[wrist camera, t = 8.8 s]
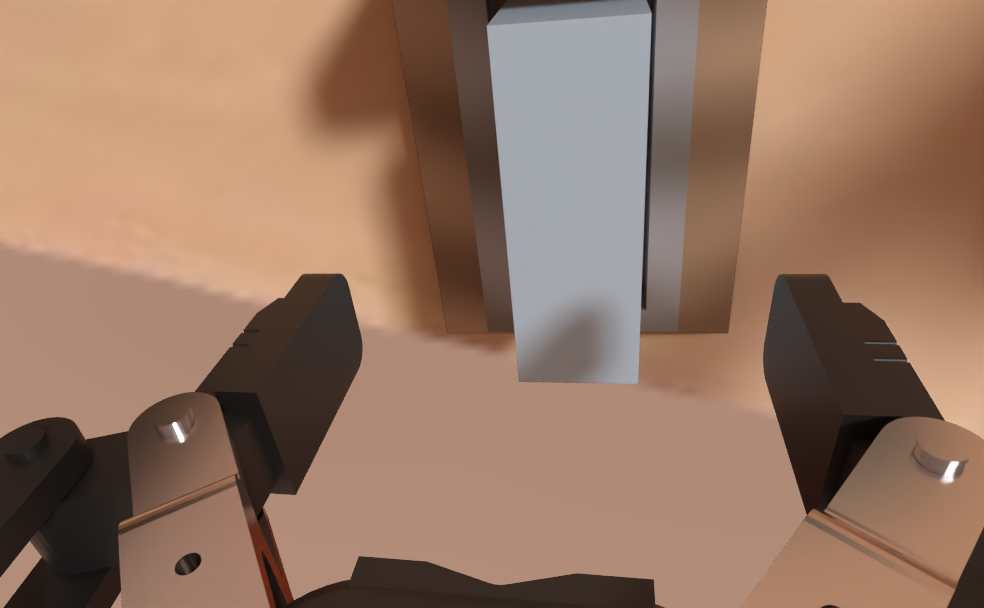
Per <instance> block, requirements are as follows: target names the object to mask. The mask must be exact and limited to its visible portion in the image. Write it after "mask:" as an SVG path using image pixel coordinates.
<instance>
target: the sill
mask: <svg viewBox="0 0 984 608" xmlns="http://www.w3.org/2000/svg"><path fill="white" fill-rule="evenodd" d="M506 1H507V0H392V5H393V11H394V17H395V23H396V29H397V35H398V41H399V47H400V53H401V59H402V65H403V71H404V77H405V83H406V89H407V95H408V101H409V107H410V113H411V119H412V125H413V131H414V137H415V143H416V149H417V155H418V161H419V167H420V173H421V179H422V185H423V191H424V197H425V203H426V209H427V215H428V221H429V227H430V233H431V239H432V245H433V251H434V257H435V263H436V269H437V275H438V281H439V287H440V293H441V299H442V305H443V311H444V317H445V323H446V329H447V333H515V332H514V321H513V310H512V299H511V288H510V277H509V266H508V255H507V244H506V233H505V222H504V211H503V200H502V189H501V177H500V166H499V155H498V144H497V133H496V122H495V111H494V100H493V89H492V78H491V67H490V56H489V45H488V34H487V25H488V24H489V22H490V21H491V20H492V19H493V17H494V16H495V15H496V14H497V12H498V11H499V10H500V9H501V7H502V6H503V5H504V3H505V2H506ZM647 3H648V5H649V8H650V10H651V13H652V18H651V46H650V73H649V100H648V128H647V155H646V182H645V209H644V237H643V264H642V291H641V319H640V333H728V330H729V321H730V313H731V304H732V296H733V287H734V279H735V271H736V262H737V254H738V245H739V237H740V228H741V220H742V211H743V203H744V194H745V186H746V177H747V169H748V161H749V152H750V144H751V135H752V127H753V118H754V110H755V101H756V93H757V84H758V76H759V67H760V59H761V51H762V42H763V34H764V25H765V17H766V8H767V0H647Z"/></svg>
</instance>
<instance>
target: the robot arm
mask: <svg viewBox="0 0 984 608" xmlns="http://www.w3.org/2000/svg"><path fill="white" fill-rule="evenodd" d="M896 342H897V341H896V340H895V338H894V336H893V335H892V333H891V331H890V330H889V328H888V326H887V325H886V323H885V321H884V320H882V319H881V318H880V317H878V316H877V315H876V314H874V313H873V312H872V311H870V310H869V309H867V308H866V307H865V306H863V305H862V304H861V303H843V302H842V300H841V298H840V296H839V295H838V293H837V291H836V289H835V287H834V285H833V284H832V282H831V280H830V278H829V277H828V276H827V275H826V274H780V275H779V276H778V277H777V280H776V283H775V287H774V292H773V298H772V304H771V309H770V315H769V321H768V326H767V332H766V338H765V343H764V352H763V366H764V375H765V380H766V383H767V386H768V390H769V393H770V396H771V399H772V403H773V406H774V409H775V413H776V416H777V419H778V422H779V425H780V429H781V432H782V435H783V438H784V442H785V445H786V448H787V452H788V455H789V458H790V462H791V465H792V468H793V471H794V474H795V477H796V481H797V484H798V488H799V491H800V494H801V497H802V501H803V504H804V507H805V510H806V514H807V516H806V517H805V519H804V520H803V521H802V523H801V524H800V525H799V527H798V528H797V530H796V531H795V532H794V534H793V535H792V536H791V538H790V539H789V541H788V542H787V543H786V545H785V546H784V547H783V549H782V550H781V552H780V553H779V554H778V556H777V557H776V558H775V560H774V561H773V563H772V564H771V565H770V567H769V568H768V570H767V571H766V572H765V574H764V575H763V576H762V578H761V579H760V581H759V582H758V583H757V585H756V586H755V587H754V589H753V590H752V592H751V593H750V594H749V596H748V597H747V598H746V600H745V601H744V603H743V604H742V605H741V607H740V608H984V440H983V439H982V438H980V437H979V436H978V435H976V434H974V433H972V432H971V431H969V430H967V429H965V428H963V427H960V426H958V425H955V424H953V423H950V422H947V421H945V420H944V418H943V417H942V415H941V413H940V412H939V410H938V409H937V407H936V405H935V404H934V402H933V400H932V399H931V397H930V395H929V394H928V392H927V390H926V389H925V387H924V386H923V384H922V382H921V381H920V379H919V377H918V376H917V374H916V372H915V371H914V369H913V367H912V366H911V364H910V363H907V358H906V356H905V354H904V353H903V351H902V349H901V348H900V346H899V345H896ZM361 359H362V338H361V334H360V330H359V326H358V322H357V318H356V314H355V310H354V306H353V302H352V298H351V294H350V290H349V286H348V282H347V280H346V278H345V277H344V276H343V275H342V274H303V275H302V276H301V277H300V278H299V279H298V281H297V282H296V283H295V284H294V286H293V287H292V288H291V290H290V291H289V292H288V294H287V295H286V296H285V298H278V299H277V300H275V301H274V302H272V303H271V304H269V305H268V306H267V307H265V308H264V309H262V310H261V311H259V312H258V313H257V314H256V315H255V316H254V318H253V319H252V320H251V321H250V323H249V324H248V325H247V326H246V328H245V329H244V333H241V334H240V335H239V337H238V338H237V339H236V340H235V342H234V343H233V347H230V348H229V349H228V351H227V352H226V353H225V354H224V355H223V357H222V358H221V359H220V361H219V362H218V363H217V364H216V366H215V367H214V368H213V369H212V371H211V372H210V373H209V374H208V376H207V377H206V378H205V380H204V381H203V382H202V383H201V385H200V386H199V387H198V389H197V390H196V391H195V392H189V393H183V394H179V395H175V396H172V397H169V398H166V399H164V400H162V401H160V402H158V403H156V404H154V405H153V406H151V407H149V408H148V409H147V410H145V411H144V412H143V413H142V414H141V415H140V416H139V417H138V418H136V420H135V421H134V422H133V424H132V425H131V427H130V429H129V431H127V432H122V433H117V434H112V435H107V436H102V437H97V438H92V439H86V440H85V438H84V437H83V435H82V433H81V432H80V430H79V428H78V427H77V425H76V424H75V423H74V422H73V421H72V420H70V419H67V418H61V417H54V418H46V419H41V420H38V421H34V422H32V423H29V424H26V425H23V426H21V427H19V428H17V429H15V430H13V431H11V432H9V433H8V434H6V435H5V436H3V437H2V438H0V577H1V576H2V575H3V573H4V572H5V571H6V570H7V568H8V567H9V566H10V564H11V563H12V562H13V561H14V559H15V558H16V557H17V556H18V554H19V553H20V552H21V551H22V549H23V548H24V547H25V546H26V544H27V543H28V542H29V541H30V542H31V543H32V544H33V546H34V547H35V548H36V550H37V551H38V552H39V553H40V555H41V556H42V558H41V559H40V560H39V562H38V563H37V564H36V566H35V567H34V568H33V570H32V571H31V572H30V574H29V575H28V576H27V578H26V579H25V580H24V582H23V583H22V584H21V585H20V587H19V588H18V589H17V591H16V592H15V594H14V595H13V596H12V597H11V599H10V600H9V601H8V603H7V604H6V605H5V607H4V608H111V606H112V605H113V603H114V601H115V600H116V598H117V596H118V595H119V593H120V592H121V595H122V608H664V607H662V606H659V605H656V604H655V595H654V580H652V579H639V578H626V577H614V576H601V575H588V574H571V575H564V576H558V577H552V578H545V579H539V580H533V581H526V582H520V583H514V584H507V585H494V584H490V583H487V582H484V581H481V580H478V579H476V578H473V577H470V576H467V575H464V574H461V573H458V572H455V571H452V570H449V569H447V568H444V567H441V566H438V565H435V564H432V563H429V562H425V561H411V560H399V559H386V558H374V557H362V556H359V558H358V560H357V563H356V566H355V568H354V571H353V574H352V577H351V579H350V580H346V581H341V582H338V583H334V584H331V585H327V586H325V587H322V588H319V589H317V590H314V591H312V592H309V593H307V594H306V595H304V596H302V597H300V598H298V599H296V600H294V599H293V596H292V593H291V590H290V587H289V584H288V581H287V578H286V574H285V571H284V568H283V564H282V561H281V558H280V555H279V552H278V548H277V545H276V542H275V538H274V535H273V532H272V529H271V525H270V522H269V519H268V516H267V514H266V511H265V509H264V507H263V506H264V504H265V502H266V500H267V498H268V497H269V494H270V493H275V494H290V495H296V493H297V491H298V489H299V487H300V485H301V483H302V481H303V479H304V477H305V475H306V473H307V471H308V469H309V467H310V465H311V463H312V461H313V459H314V457H315V455H316V453H317V451H318V449H319V447H320V445H321V443H322V441H323V439H324V437H325V435H326V433H327V431H328V429H329V427H330V425H331V423H332V421H333V419H334V417H335V415H336V413H337V411H338V409H339V407H340V405H341V403H342V401H343V399H344V397H345V395H346V393H347V391H348V389H349V387H350V385H351V383H352V381H353V379H354V377H355V375H356V373H357V371H358V369H359V367H360V363H361Z"/></svg>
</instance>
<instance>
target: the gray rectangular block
mask: <svg viewBox="0 0 984 608" xmlns="http://www.w3.org/2000/svg"><path fill="white" fill-rule="evenodd" d="M651 18H652V13H651V10H650V8H649V5H648V3H647V0H507V1H506V2H505V3H504V5H503V6H502V7H501V9H500V10H499V11H498V12H497V14H496V15H495V16H494V17H493V19H492V20H491V21H490V22H489V24H488V25H487V34H488V45H489V56H490V67H491V78H492V89H493V100H494V111H495V122H496V133H497V144H498V155H499V166H500V177H501V189H502V200H503V211H504V222H505V233H506V244H507V255H508V266H509V277H510V288H511V299H512V310H513V321H514V332H515V343H516V354H517V365H518V376H519V382H564V383H619V384H638V373H639V346H640V319H641V291H642V264H643V237H644V209H645V182H646V155H647V128H648V100H649V73H650V46H651Z"/></svg>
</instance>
